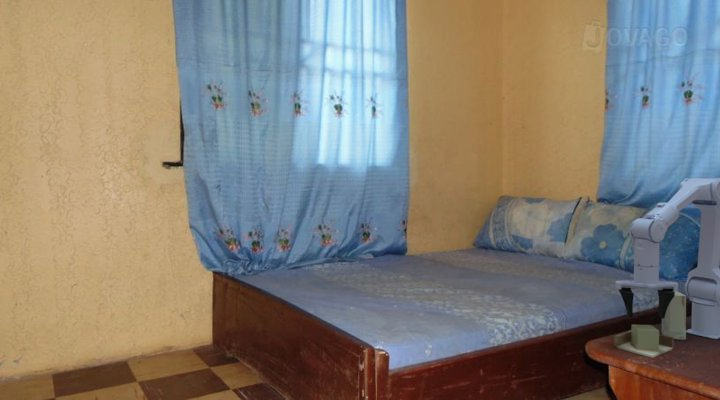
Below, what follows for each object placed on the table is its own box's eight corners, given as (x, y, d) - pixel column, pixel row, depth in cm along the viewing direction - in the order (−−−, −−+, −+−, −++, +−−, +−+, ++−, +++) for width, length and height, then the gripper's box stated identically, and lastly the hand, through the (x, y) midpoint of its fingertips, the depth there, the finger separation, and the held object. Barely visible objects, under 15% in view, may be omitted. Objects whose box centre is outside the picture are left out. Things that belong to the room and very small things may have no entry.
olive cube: (631, 343, 143) (631, 324, 142) (651, 343, 142) (651, 325, 141) (637, 349, 138) (638, 330, 137) (658, 350, 137) (659, 330, 136)
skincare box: (686, 340, 146) (687, 296, 145) (669, 339, 147) (669, 295, 146) (677, 333, 152) (678, 290, 152) (660, 332, 153) (661, 290, 152)
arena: (635, 338, 148) (635, 328, 147) (673, 348, 139) (674, 337, 139) (613, 347, 141) (613, 335, 141) (652, 357, 133) (652, 345, 133)
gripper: (621, 267, 136) (620, 320, 137) (683, 268, 133) (682, 322, 134) (613, 262, 143) (612, 312, 144) (672, 263, 140) (671, 314, 141)
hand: (645, 316), depth 139 cm, fingers open, 7 cm apart
